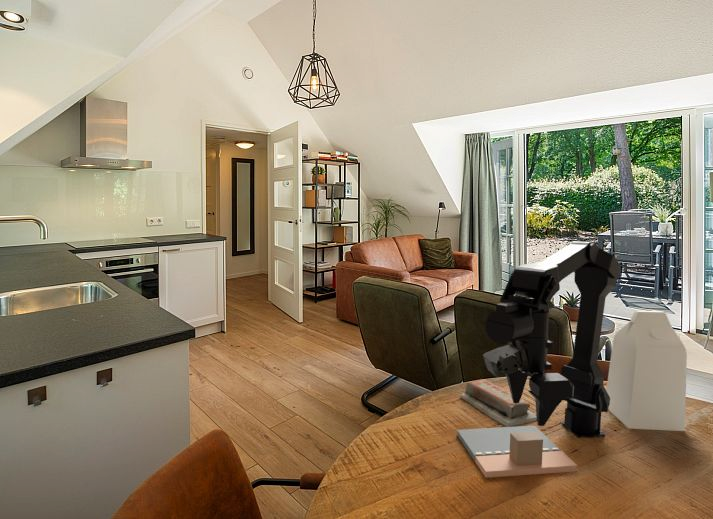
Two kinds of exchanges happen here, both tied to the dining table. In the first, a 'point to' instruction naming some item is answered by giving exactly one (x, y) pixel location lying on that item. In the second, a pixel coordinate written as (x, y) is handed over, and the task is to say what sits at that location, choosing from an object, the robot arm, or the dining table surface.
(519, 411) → the packaged product
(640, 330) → the milk
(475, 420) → the dining table surface
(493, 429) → the board
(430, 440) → the dining table surface
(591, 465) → the dining table surface
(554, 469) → the stub
